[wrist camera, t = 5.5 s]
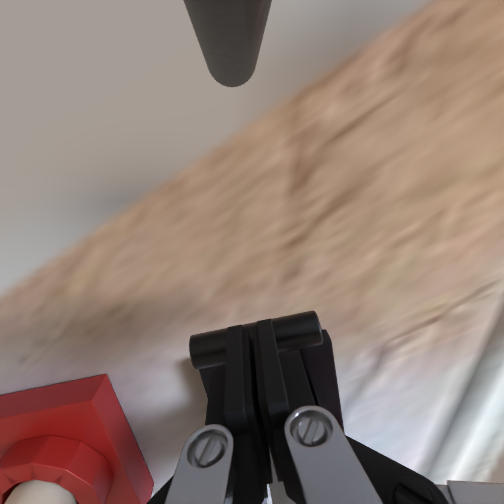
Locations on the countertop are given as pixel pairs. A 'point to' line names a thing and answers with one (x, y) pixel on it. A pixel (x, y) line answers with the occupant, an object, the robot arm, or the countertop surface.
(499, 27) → the countertop surface
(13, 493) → the white push button
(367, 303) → the countertop surface
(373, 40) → the countertop surface
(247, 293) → the countertop surface
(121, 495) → the button housing
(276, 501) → the lever
